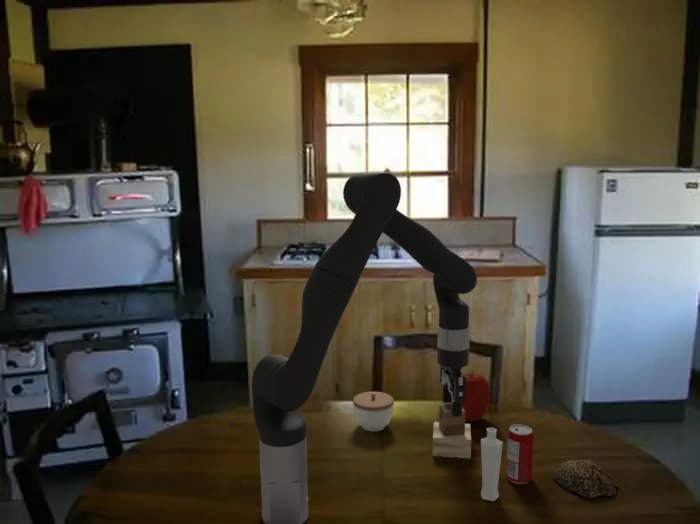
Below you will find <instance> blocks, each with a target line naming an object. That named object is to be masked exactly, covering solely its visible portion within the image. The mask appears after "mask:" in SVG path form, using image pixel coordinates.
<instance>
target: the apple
mask: <svg viewBox="0 0 700 524" xmlns="http://www.w3.org/2000/svg"><path fill="white" fill-rule="evenodd" d="M462 374H463V373H462ZM463 377H466V402H462V408H463V409H464V410H465V422H472V423H473V422H478V421H479V420H481V419H482V418H483V417H484V416H485V415H486V413H487V411H488V408H489V406H490V403H491V397H492V391H491V387H490V384H489V381H488V380H487V378H486V377H485V376H484V375H482V374H478V373H473V370H472V371H471V373H469V372H468V373H464V374H463ZM452 388H454V387H452ZM458 396H460V395H459V392H458Z"/></svg>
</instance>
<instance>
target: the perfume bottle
mask: <svg viewBox="0 0 700 524" xmlns="http://www.w3.org/2000/svg"><path fill="white" fill-rule="evenodd" d="M497 431H498V430H497V428H495V427H487V428H486V437H483V438H480V455H481V459H480V460H481V478H482V482H481V483H482V487H481V491H480V496H481V499H482V500H486V501H491V502H495V501H496V500H497V499H499V497H500V495H499V481H500V480H499V479H500V478H499V477H500V471H501V461H502V454H503V453H502V452H503V446H504V445H503V444H504V443H503V441H501V440H500V439H498V438H497Z"/></svg>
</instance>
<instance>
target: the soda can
mask: <svg viewBox="0 0 700 524" xmlns="http://www.w3.org/2000/svg"><path fill="white" fill-rule="evenodd" d="M506 441H507V442H506V468H505V469H506V470H505V471H506V472H505V476H506V478H507V479H508V480H509V481H510V482H512V483H513V484H520V485H525V484H528V483H529V482H530V481H531V480H532V479H533V462H534V461H533V457H534V434H533V429H532V428H531V427H529V426H528V425H524V424H520V423H519V424H512V425H510V426H509V428H508V432H507V440H506Z"/></svg>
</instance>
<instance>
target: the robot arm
mask: <svg viewBox="0 0 700 524" xmlns="http://www.w3.org/2000/svg"><path fill="white" fill-rule="evenodd" d="M342 190H343V192H342V196H343V200H344V203H345V205H346V207H347V209H348V210H350V211H351V212H352V213H353V214H355V215H354V217H353V219H352V221H351V223H350V224H349V226H348V227H347V229H346V230H345V231H344V232H343V234H342V235H341V236H340V237H339V238H337V240H336V241H335V242H333V243H332V244H331V245H330V246H329V247H328V248H327V250H325V252H324V253H323V254H322V255H321V256H320V258H319V259H318V260H317V262H316V263H315V265H314V267H313V269H312V270H311V273H310V275H309V277H308V279H307V281H306V283H305V287H304V288H303V292H302V297H301V325H300V331H299V335H298V337H297V341H296V343H295V345H294V346H293V349H292V351H291V353H290V355H289V357H287V356H284V355H283V354H278V353H277V354H275V353H273V354H269V355H268V354H267V355H266V356H264V357H262V358H261V359H260V360H259V361H258V362H257V364H256V366H255V367H254V370H253V373H252V378H251V393H252V394H251V396H252V397H251V398H252V405H253V406H252V408H253V416H254V423H255V426H256V429H257V430H258V433H259V434H258V439H259V461H260V462H259V463H260V464H259V466H260V467H259V468H260V469H259V470H260V489H261V490H260V491H261V494H260V495H261V512H262V513H261V516H262V517H261V518H262V522H264V524H304V523H305V522H306V521H307V519H308V517H309V495H308V494H309V493H308V488H309V487H308V460H307V459H308V453H307V452H308V451H307V448H308V447H307V442H308V441H307V424H306V420H305V419H304V418H303V416H302V415H301V414H300V412H299V411H298V409H300V408H302V406H304V404H306V402H307V401H308V400H309V398H310V396H311V395H312V392H313V391H314V388H315V385H316V383H317V380H318V377H319V374H320V371H321V368H322V366H323V362H324V361H325V357H326V354H327V353H328V350H329V347H330V344H331V341H332V339H333V338H334V335H335V333H336V330H337V328H338V326H339V323H340V321H341V319H342V316H343V314H344V313H345V310H346V309H347V307H348V305H349V303H350V301H351V299H352V296H353V293H354V292H355V290H356V288H357V285H358V283H359V280H360V278H361V275H362V273H363V271H364V270H365V267H366V265H367V263H368V261H369V259H370V257H371V256H372V253H373V251H374V250H375V247H376V245H377V244H378V241H379V239H380V238H381V236H382V234H385V235H386V236H387V237H388V238H389V239H390V240H392V241H393V242H394V243H395V244H397V245H398V246H399V247H400V248H402V250H404V251H405V252H406V253H407V254H408V255H409V256H410V257H411V258H412V259H413V260H415V262H417V264H419V265H420V266H421V267H422V268H423V269H424V270H426V271H427V272H429V273H432V282H433V283H432V285H433V288H434V294H435V298H436V302H437V307H438V309H439V310H438V330H437V348H436V349H437V352H436V362H437V364H438V365H439V367H440V368H439V369H440V370H439V382H440V383H441V387H442V402H443V404H452V415H453V416H454V417H459V416H461V415H462V402H466V377H463V372H462V369H463V368H465V367H467V366H468V365H469V363H470V329H469V328H470V327H469V325H470V323H469V322H470V321H469V320H470V309H469V305H468V304H467V303H466V302H465V301H464V300H462V299H461V298H460V295H465V294H468V293H470V292H473V290H474V289H475V288H476V286H477V282H478V276H477V273H476V270H475V269H474V267H473V266H472V265H471V264H470V263H469V262H468V261H466V260H465V259H464V258H462V257H461V256H460V255H458V254H457V253H455V252H453V251H451V250H450V249H449V248H447V246H446V245H445V244H444V243H443V242H442V241H441V240H440V239H439V238H438V237H437V236H436V235H435V233H433V232H432V231H430V230H429V229H428V228H427V227H425V226H423V225H422V224H420V223H418V222H417V221H416V220H414V219H412V218H410V217H408V216H407V215H405V214H404V213H402V212H401V211H399V209H398V207H399V205H400V202H401V195H402V187H401V182H400V181H399V179H398V177H397V176H396V175H394V174H392V173H390V172H386V171H375V172H374V171H371V172H368V171H367V172H361V173H357V174H356V173H355V174H354V175H352V176H350V177H349V178H348V179H347V180H346V182H345V184H344V186H343V189H342ZM452 387H454V388H452ZM458 392H459V395H460V396H458Z"/></svg>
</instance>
